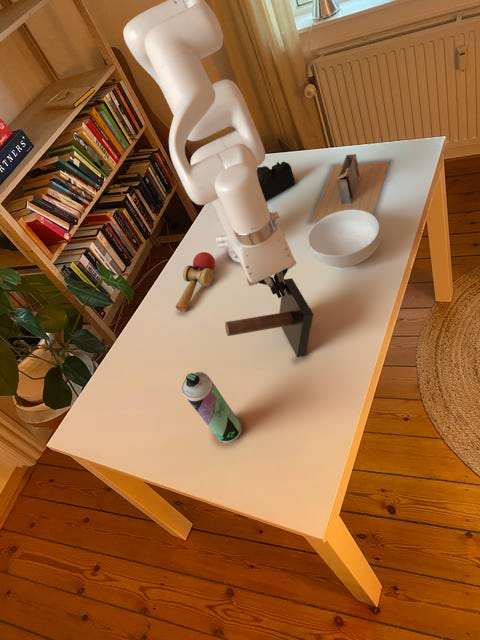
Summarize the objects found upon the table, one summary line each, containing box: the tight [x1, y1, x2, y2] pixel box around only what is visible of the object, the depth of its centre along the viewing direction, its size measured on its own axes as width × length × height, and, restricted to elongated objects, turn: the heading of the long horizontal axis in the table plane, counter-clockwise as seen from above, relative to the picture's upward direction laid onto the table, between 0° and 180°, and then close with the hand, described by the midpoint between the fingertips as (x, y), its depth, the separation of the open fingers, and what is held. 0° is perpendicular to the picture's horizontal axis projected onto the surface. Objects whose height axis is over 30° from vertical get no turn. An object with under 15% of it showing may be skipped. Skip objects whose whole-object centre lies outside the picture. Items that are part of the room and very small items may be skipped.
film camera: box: [257, 161, 296, 202], centre depth 145 cm, size 15×10×9 cm, turn 114°
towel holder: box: [224, 278, 314, 358], centre depth 102 cm, size 18×12×12 cm
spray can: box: [181, 371, 243, 444], centre depth 92 cm, size 6×6×20 cm
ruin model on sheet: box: [311, 153, 391, 222], centre depth 132 cm, size 25×16×10 cm, turn 159°
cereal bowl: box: [307, 210, 381, 268], centre depth 118 cm, size 17×17×7 cm
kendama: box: [175, 251, 216, 313], centre depth 129 cm, size 8×6×18 cm
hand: (279, 292), depth 105 cm, fingers closed
